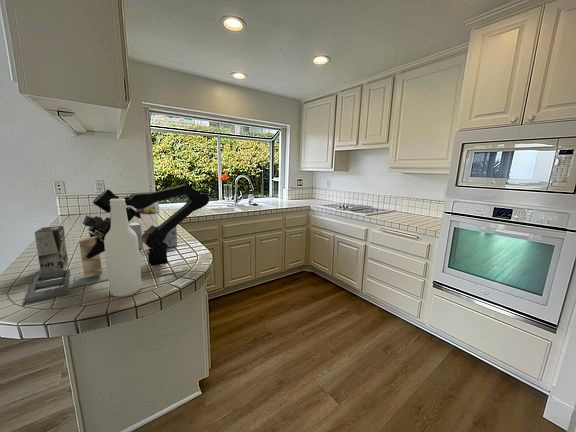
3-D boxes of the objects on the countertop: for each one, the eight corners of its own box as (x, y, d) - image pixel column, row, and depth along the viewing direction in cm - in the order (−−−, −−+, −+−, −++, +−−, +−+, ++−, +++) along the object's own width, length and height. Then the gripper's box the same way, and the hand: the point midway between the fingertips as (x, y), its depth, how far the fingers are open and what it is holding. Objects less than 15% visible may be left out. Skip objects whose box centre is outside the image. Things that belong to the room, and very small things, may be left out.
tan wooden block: (100, 270, 93) (96, 236, 90) (102, 274, 89) (97, 239, 87) (83, 273, 90) (78, 238, 87) (84, 278, 86) (79, 241, 84)
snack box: (136, 211, 222) (134, 194, 219) (141, 211, 227) (140, 194, 224) (154, 213, 215) (153, 196, 212) (159, 212, 220) (158, 195, 218)
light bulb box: (155, 249, 122) (153, 228, 120) (152, 246, 127) (150, 225, 125) (178, 245, 129) (176, 225, 127) (174, 242, 134) (173, 223, 132)
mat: (109, 270, 97) (108, 269, 97) (111, 279, 89) (111, 278, 89) (75, 276, 90) (75, 275, 90) (74, 287, 83) (74, 285, 83)
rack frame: (70, 273, 93) (69, 269, 93) (68, 294, 78) (67, 289, 78) (36, 279, 88) (35, 275, 87) (26, 303, 72) (26, 298, 72)
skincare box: (143, 248, 124) (141, 224, 122) (133, 250, 121) (131, 225, 119) (139, 245, 128) (137, 222, 126) (129, 247, 125) (127, 223, 123)
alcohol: (142, 293, 80) (134, 200, 74) (108, 300, 75) (97, 201, 70) (142, 282, 87) (134, 197, 82) (111, 288, 83) (101, 198, 77)
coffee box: (63, 271, 94) (57, 230, 91) (40, 275, 91) (33, 232, 88) (69, 263, 102) (64, 225, 99) (48, 266, 99) (42, 226, 96)
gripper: (91, 204, 94) (57, 238, 88) (106, 210, 82) (66, 250, 76) (118, 221, 101) (87, 254, 95) (134, 229, 89) (101, 267, 83)
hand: (85, 255), depth 87 cm, fingers closed on tan wooden block, 5 cm apart
